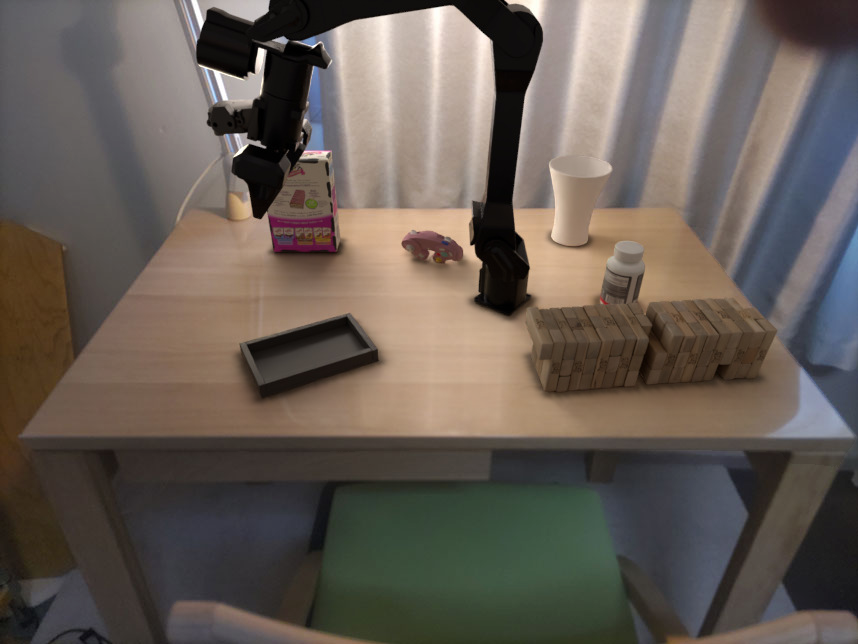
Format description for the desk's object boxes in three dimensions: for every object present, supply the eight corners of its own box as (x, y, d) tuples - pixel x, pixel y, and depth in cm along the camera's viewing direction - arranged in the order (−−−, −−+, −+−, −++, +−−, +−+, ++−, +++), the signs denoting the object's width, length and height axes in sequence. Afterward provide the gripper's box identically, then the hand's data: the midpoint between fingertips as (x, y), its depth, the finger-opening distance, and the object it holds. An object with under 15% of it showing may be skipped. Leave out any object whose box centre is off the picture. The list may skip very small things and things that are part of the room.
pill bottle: (621, 292, 93) (634, 235, 88) (643, 310, 89) (658, 252, 84) (591, 298, 92) (603, 241, 86) (612, 317, 88) (625, 258, 82)
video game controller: (403, 264, 103) (395, 239, 97) (413, 243, 105) (405, 217, 99) (458, 275, 100) (452, 250, 94) (466, 254, 102) (461, 228, 96)
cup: (530, 242, 107) (539, 169, 99) (553, 220, 114) (562, 150, 107) (587, 257, 102) (600, 182, 95) (607, 234, 110) (621, 162, 102)
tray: (351, 323, 86) (350, 312, 85) (378, 361, 79) (378, 349, 78) (241, 355, 80) (239, 343, 79) (261, 398, 73) (258, 386, 72)
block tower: (724, 347, 83) (518, 355, 80) (744, 296, 79) (526, 301, 75) (755, 385, 77) (532, 394, 74) (779, 331, 72) (542, 338, 69)
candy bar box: (341, 239, 107) (333, 149, 98) (337, 253, 103) (328, 160, 94) (278, 239, 107) (264, 148, 98) (272, 252, 103) (257, 159, 94)
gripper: (241, 55, 81) (228, 162, 90) (192, 91, 66) (182, 216, 75) (322, 82, 83) (301, 184, 92) (293, 122, 68) (271, 241, 76)
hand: (266, 203), depth 83 cm, fingers open, 9 cm apart
